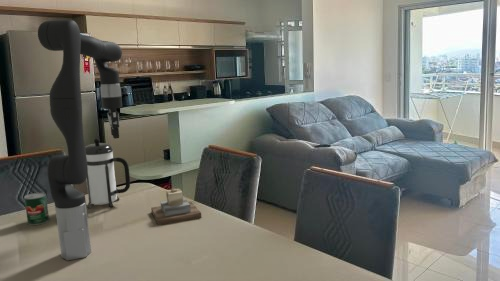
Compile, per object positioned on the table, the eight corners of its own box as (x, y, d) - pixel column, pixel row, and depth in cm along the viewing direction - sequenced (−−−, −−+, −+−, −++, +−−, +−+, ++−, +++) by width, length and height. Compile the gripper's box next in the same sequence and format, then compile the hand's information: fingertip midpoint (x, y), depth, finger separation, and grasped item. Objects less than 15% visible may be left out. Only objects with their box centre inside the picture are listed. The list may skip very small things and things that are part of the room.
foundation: (201, 217, 171) (200, 205, 170) (158, 225, 165) (157, 212, 164) (191, 205, 186) (190, 194, 185) (151, 212, 180) (150, 200, 179)
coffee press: (95, 213, 181) (87, 143, 176) (80, 204, 193) (73, 139, 188) (132, 202, 193) (126, 137, 187) (116, 195, 205) (110, 133, 199)
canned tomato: (47, 216, 179) (43, 191, 177) (51, 221, 173) (47, 195, 171) (26, 221, 175) (22, 195, 173) (29, 226, 169) (25, 200, 167)
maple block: (183, 204, 173) (182, 190, 172) (169, 206, 171) (168, 192, 170) (180, 200, 178) (179, 186, 177) (166, 202, 176) (165, 188, 175)
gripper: (123, 96, 162) (127, 138, 165) (119, 94, 175) (123, 133, 178) (102, 97, 160) (106, 140, 163) (100, 95, 173) (104, 135, 176)
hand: (115, 136), depth 170 cm, fingers open, 8 cm apart
